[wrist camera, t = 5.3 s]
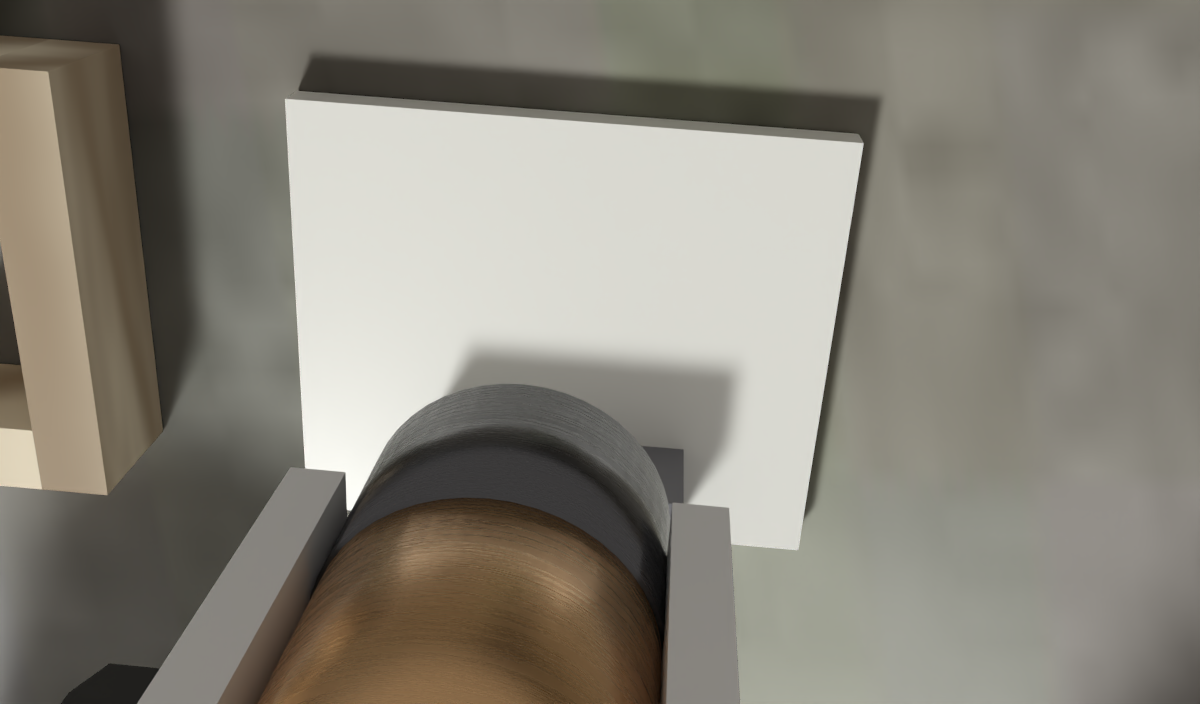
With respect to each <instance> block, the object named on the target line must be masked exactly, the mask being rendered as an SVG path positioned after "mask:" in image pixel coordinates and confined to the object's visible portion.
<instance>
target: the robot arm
mask: <svg viewBox="0 0 1200 704" xmlns="http://www.w3.org/2000/svg"><path fill="white" fill-rule="evenodd" d="M346 520H347V502H346V472H338V471H328V470H317V469H306V468H295V467H290V469H289V470H288V472H287V473H286V475H285V476H284V478H283V479H282V481H281V482H280V484H279V486H278V487H277V489H276V490H275V492H274V493H273V495H272V496H271V498H270V499H269V501H268V502H267V504H266V506H265V507H264V509H263V510H262V512H261V513H260V515H259V516H258V518H257V519H256V521H255V523H254V524H253V526H252V527H251V529H250V530H249V532H248V533H247V535H246V536H245V538H244V539H243V541H242V543H241V544H240V546H239V547H238V549H237V550H236V552H235V553H234V555H233V556H232V558H231V560H230V561H229V563H228V564H227V566H226V567H225V569H224V570H223V572H222V573H221V575H220V576H219V578H218V580H217V581H216V583H215V584H214V586H213V587H212V589H211V590H210V592H209V593H208V595H207V597H206V598H205V600H204V601H203V603H202V604H201V606H200V607H199V609H198V610H197V612H196V614H195V615H194V617H193V618H192V620H191V621H190V623H189V624H188V626H187V627H186V629H185V630H184V632H183V634H182V635H181V637H180V638H179V640H178V641H177V643H176V644H175V646H174V647H173V649H172V651H171V652H170V654H169V655H168V657H167V658H166V660H165V661H164V663H163V664H162V666H161V667H160V669H158V668H148V667H138V666H128V665H118V664H108V665H107V666H106V667H104V668H103V669H101V670H100V671H99V672H97V673H96V674H94V675H93V676H92V677H90V678H89V679H87V680H86V681H85V682H83V683H82V684H80V685H79V686H78V687H76V688H75V689H73V690H72V691H71V692H69V694H68V695H67V696H66V698H65V699H64V700H63V702H62V703H61V704H257V703H258V701H259V699H260V697H261V695H262V693H263V691H264V689H265V687H266V685H267V683H268V681H269V680H270V678H271V676H272V674H273V672H274V670H275V668H276V666H277V664H278V662H279V660H280V658H281V656H282V654H283V652H284V650H285V648H286V646H287V644H288V642H289V640H290V638H291V636H292V634H293V632H294V630H295V628H296V627H297V625H298V623H299V621H300V619H301V617H302V615H303V613H304V611H305V609H306V607H307V605H308V603H309V599H310V595H311V592H312V589H313V587H314V584H315V581H316V579H317V576H318V574H319V572H320V570H321V568H322V567H323V565H324V563H325V561H326V559H327V557H328V555H329V553H330V551H331V549H332V547H333V545H334V543H335V541H336V539H337V537H338V535H339V534H340V532H341V530H342V528H343V526H344V524H345V522H346ZM660 704H740V694H739V676H738V658H737V640H736V622H735V604H734V586H733V568H732V550H731V532H730V514H729V508H727V507H716V506H705V505H695V504H684V503H672V512H671V522H670V532H669V541H668V551H667V569H666V596H665V624H664V642H663V651H662V661H661V685H660Z"/></svg>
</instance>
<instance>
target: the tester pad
mask: <svg viewBox="0 0 1200 704" xmlns="http://www.w3.org/2000/svg"><path fill="white" fill-rule="evenodd" d="M285 107H286V126H287V144H288V162H289V180H290V199H291V217H292V235H293V254H294V272H295V290H296V309H297V327H298V345H299V364H300V382H301V400H302V418H303V437H304V455H305V468H306V469H317V470H328V471H338V472H346V502H347V510H352V508H353V506H354V504H355V503H356V501H357V499H358V497H359V495H360V493H361V491H362V489H363V487H364V485H365V483H366V481H367V479H368V477H369V475H370V473H371V471H372V470H373V468H374V466H375V464H376V462H377V460H378V458H379V456H380V454H381V453H382V451H383V449H384V447H385V446H386V444H387V442H388V441H389V440H390V438H391V437H392V436H393V435H394V433H395V432H396V431H397V429H398V428H399V427H400V426H401V425H402V424H404V423H405V422H406V421H407V420H408V419H409V418H410V417H411V416H412V415H414V414H415V413H417V412H418V411H419V410H421V409H422V408H424V407H425V406H427V405H428V404H430V403H432V402H434V401H436V400H438V399H440V398H442V397H444V396H447V395H450V394H452V393H455V392H458V391H461V390H464V389H469V388H474V387H478V386H483V385H494V384H524V385H531V386H538V387H544V388H548V389H552V390H556V391H559V392H563V393H566V394H568V395H571V396H573V397H576V398H578V399H581V400H583V401H585V402H587V403H589V404H591V405H593V406H594V407H596V408H598V409H600V410H602V411H603V412H605V413H606V414H607V415H609V416H610V417H612V418H613V419H614V420H616V421H617V422H619V423H620V424H621V425H622V426H623V427H624V428H625V429H626V430H627V431H628V432H629V433H630V434H631V435H633V436H634V438H635V439H636V440H637V441H638V443H639V444H640V445H641V446H642V447H643V449H644V450H645V451H646V453H647V454H648V456H649V457H650V459H651V460H652V462H653V464H654V465H655V467H656V469H657V471H658V474H659V476H660V478H661V480H662V482H663V485H664V489H665V492H666V496H667V499H668V506H669V513H670V522H671V512H672V503H684V504H695V505H705V506H716V507H727V508H729V514H730V532H731V544H734V545H745V546H756V547H767V548H779V549H790V550H798V548H799V542H800V536H801V529H802V523H803V517H804V511H805V505H806V498H807V492H808V486H809V480H810V474H811V467H812V461H813V455H814V449H815V443H816V436H817V430H818V424H819V418H820V411H821V405H822V399H823V393H824V387H825V380H826V374H827V368H828V362H829V356H830V349H831V343H832V337H833V331H834V325H835V318H836V312H837V306H838V300H839V294H840V287H841V281H842V275H843V269H844V263H845V256H846V250H847V244H848V238H849V232H850V225H851V219H852V213H853V207H854V200H855V194H856V188H857V182H858V176H859V169H860V163H861V157H862V151H863V145H864V143H863V141H862V139H861V138H860V136H859V134H855V133H842V132H829V131H816V130H803V129H790V128H777V127H764V126H751V125H738V124H725V123H711V122H698V121H685V120H672V119H659V118H646V117H633V116H620V115H607V114H594V113H581V112H568V111H555V110H541V109H528V108H515V107H502V106H489V105H476V104H463V103H450V102H437V101H424V100H411V99H398V98H385V97H371V96H358V95H345V94H332V93H319V92H306V91H296V92H294V93H293V94H291V95H290V96H288V97H287V98H285Z"/></svg>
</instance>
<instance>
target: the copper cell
mask: <svg viewBox="0 0 1200 704" xmlns="http://www.w3.org/2000/svg"><path fill="white" fill-rule="evenodd" d="M669 532H670V513H669V506H668V499H667V496H666V492H665V489H664V485H663V482H662V480H661V478H660V476H659V474H658V471H657V469H656V467H655V465H654V464H653V462H652V460H651V459H650V457H649V456H648V454H647V453H646V451H645V450H644V449H643V447H642V446H641V445H640V444H639V443H638V441H637V440H636V439H635V438H634V436H633V435H631V434H630V433H629V432H628V431H627V430H626V429H625V428H624V427H623V426H622V425H621V424H620V423H619V422H617V421H616V420H614V419H613V418H612V417H610V416H609V415H607V414H606V413H605V412H603V411H602V410H600V409H598V408H596V407H594V406H593V405H591V404H589V403H587V402H585V401H583V400H581V399H578V398H576V397H573V396H571V395H568V394H566V393H563V392H559V391H556V390H552V389H548V388H544V387H538V386H531V385H524V384H494V385H483V386H478V387H474V388H469V389H464V390H461V391H458V392H455V393H452V394H450V395H447V396H444V397H442V398H440V399H438V400H436V401H434V402H432V403H430V404H428V405H427V406H425V407H424V408H422V409H421V410H419V411H418V412H417V413H415V414H414V415H412V416H411V417H410V418H409V419H408V420H407V421H406V422H405V423H404V424H402V425H401V426H400V427H399V428H398V429H397V431H396V432H395V433H394V435H393V436H392V437H391V438H390V440H389V441H388V442H387V444H386V446H385V447H384V449H383V451H382V453H381V454H380V456H379V458H378V460H377V462H376V464H375V466H374V468H373V470H372V471H371V473H370V475H369V477H368V479H367V481H366V483H365V485H364V487H363V489H362V491H361V493H360V495H359V497H358V499H357V501H356V503H355V504H354V506H353V508H352V510H351V512H350V514H349V516H348V518H347V520H346V522H345V524H344V526H343V528H342V530H341V532H340V534H339V535H338V537H337V539H336V541H335V543H334V545H333V547H332V549H331V551H330V553H329V555H328V557H327V559H326V561H325V563H324V565H323V567H322V568H321V570H320V572H319V574H318V576H317V579H316V581H315V584H314V587H313V589H312V592H311V595H310V599H309V603H308V605H307V607H306V609H305V611H304V613H303V615H302V617H301V619H300V621H299V623H298V625H297V627H296V628H295V630H294V632H293V634H292V636H291V638H290V640H289V642H288V644H287V646H286V648H285V650H284V652H283V654H282V656H281V658H280V660H279V662H278V664H277V666H276V668H275V670H274V672H273V674H272V676H271V678H270V680H269V681H268V683H267V685H266V687H265V689H264V691H263V693H262V695H261V697H260V699H259V701H258V703H257V704H660V685H661V661H662V651H663V642H664V624H665V596H666V569H667V551H668V541H669Z"/></svg>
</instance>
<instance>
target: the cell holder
mask: <svg viewBox="0 0 1200 704" xmlns="http://www.w3.org/2000/svg"><path fill="white" fill-rule="evenodd" d="M0 242H1V248H2V254H3V260H4V266H5V272H6V278H7V284H8V290H9V296H10V302H11V308H12V314H13V320H14V326H15V332H16V338H17V343H18V349H19V355H20V361H21V365H13V364H2V363H0V486H10V487H21V488H32V489H43V490H55V491H66V492H77V493H88V494H99V495H108V494H109V493H110V492H111V491H112V490H113V488H114V487H115V486H116V485H117V484H118V483H119V482H120V480H121V479H122V478H123V477H124V476H125V475H126V473H127V472H128V471H129V470H130V469H131V468H132V466H133V465H134V464H135V463H136V462H137V461H138V460H139V458H140V457H141V456H142V455H143V454H144V453H145V451H146V450H147V449H148V448H149V447H150V446H151V444H152V443H153V442H154V441H155V440H156V439H157V438H158V436H159V435H160V434H161V433H162V432H163V426H162V417H161V409H160V400H159V391H158V382H157V373H156V364H155V356H154V347H153V338H152V329H151V320H150V312H149V303H148V294H147V285H146V276H145V267H144V259H143V250H142V241H141V232H140V223H139V215H138V206H137V197H136V188H135V179H134V170H133V162H132V153H131V144H130V135H129V126H128V118H127V109H126V100H125V91H124V82H123V73H122V65H121V56H120V47H119V44H107V43H94V42H80V41H67V40H54V39H41V38H27V37H14V36H1V35H0Z"/></svg>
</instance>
